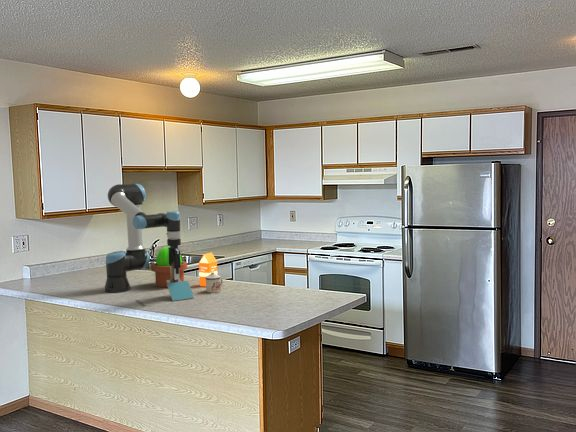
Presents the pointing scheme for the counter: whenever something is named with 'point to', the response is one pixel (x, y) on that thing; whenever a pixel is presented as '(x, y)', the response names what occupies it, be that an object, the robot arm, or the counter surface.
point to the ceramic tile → (180, 291)
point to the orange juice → (207, 267)
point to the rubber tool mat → (140, 303)
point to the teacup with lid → (213, 283)
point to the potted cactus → (165, 268)
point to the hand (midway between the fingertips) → (175, 278)
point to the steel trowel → (172, 275)
